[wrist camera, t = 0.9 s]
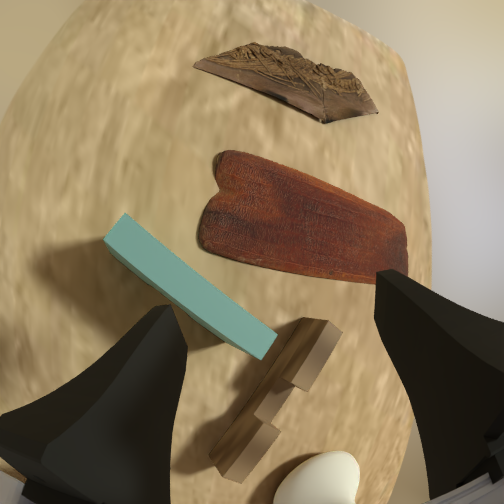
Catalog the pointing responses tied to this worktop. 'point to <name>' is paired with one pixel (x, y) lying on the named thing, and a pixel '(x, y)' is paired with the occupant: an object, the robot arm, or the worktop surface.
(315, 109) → the wooden fragment
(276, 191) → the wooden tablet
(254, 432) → the brown wooden bar
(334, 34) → the worktop surface
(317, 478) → the flower in vase
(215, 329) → the teal arch block
